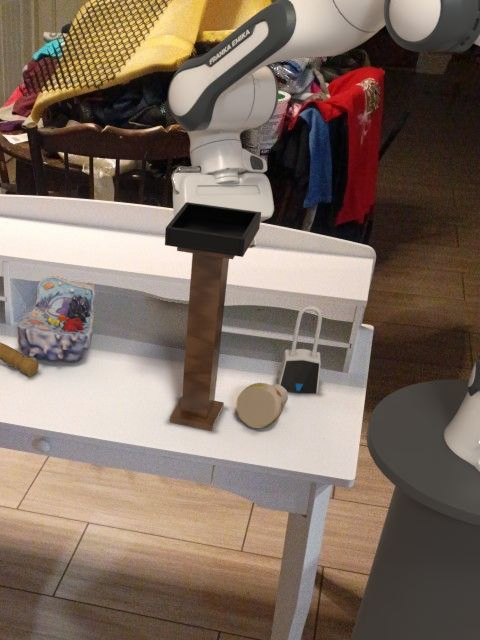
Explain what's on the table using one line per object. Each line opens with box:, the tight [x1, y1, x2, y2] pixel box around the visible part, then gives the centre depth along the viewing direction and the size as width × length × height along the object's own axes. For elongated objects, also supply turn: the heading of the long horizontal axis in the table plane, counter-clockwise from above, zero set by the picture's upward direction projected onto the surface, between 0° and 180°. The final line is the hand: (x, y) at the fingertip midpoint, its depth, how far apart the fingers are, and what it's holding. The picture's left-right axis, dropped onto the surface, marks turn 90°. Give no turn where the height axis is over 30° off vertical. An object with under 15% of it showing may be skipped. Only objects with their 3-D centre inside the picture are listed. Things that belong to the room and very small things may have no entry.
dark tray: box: [164, 202, 261, 258], centre depth 118 cm, size 11×10×2 cm
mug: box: [236, 382, 289, 429], centre depth 136 cm, size 8×10×10 cm
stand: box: [169, 247, 236, 432], centre depth 129 cm, size 8×8×30 cm
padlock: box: [277, 305, 323, 394], centre depth 140 cm, size 7×4×15 cm, turn 81°
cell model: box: [16, 275, 96, 363], centre depth 152 cm, size 13×11×20 cm
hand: (230, 248), depth 147 cm, fingers open, 8 cm apart
